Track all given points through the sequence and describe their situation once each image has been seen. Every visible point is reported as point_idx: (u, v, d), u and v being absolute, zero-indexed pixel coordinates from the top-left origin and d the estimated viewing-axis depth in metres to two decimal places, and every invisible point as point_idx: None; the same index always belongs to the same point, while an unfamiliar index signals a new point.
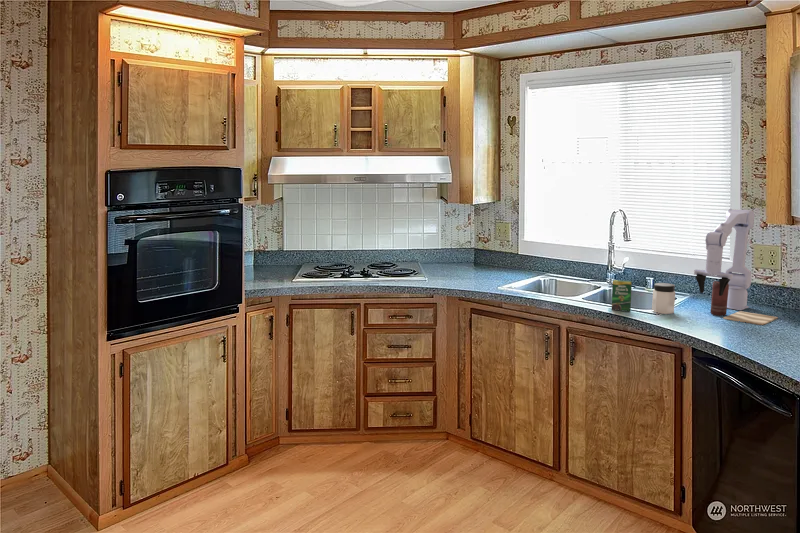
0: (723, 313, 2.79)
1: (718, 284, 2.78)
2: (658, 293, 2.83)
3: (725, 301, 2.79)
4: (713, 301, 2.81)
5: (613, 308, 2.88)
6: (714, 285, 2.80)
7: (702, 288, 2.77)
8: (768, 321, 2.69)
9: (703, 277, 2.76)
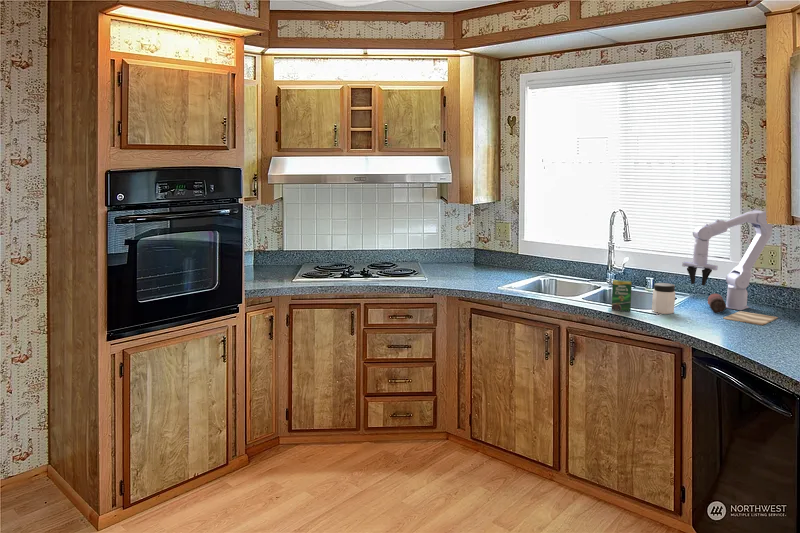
0: (722, 300, 2.85)
1: None
2: (658, 293, 2.83)
3: (722, 298, 2.90)
4: (711, 298, 2.91)
5: (613, 308, 2.88)
6: (709, 296, 2.97)
7: (693, 279, 2.95)
8: (768, 321, 2.69)
9: (694, 269, 2.95)
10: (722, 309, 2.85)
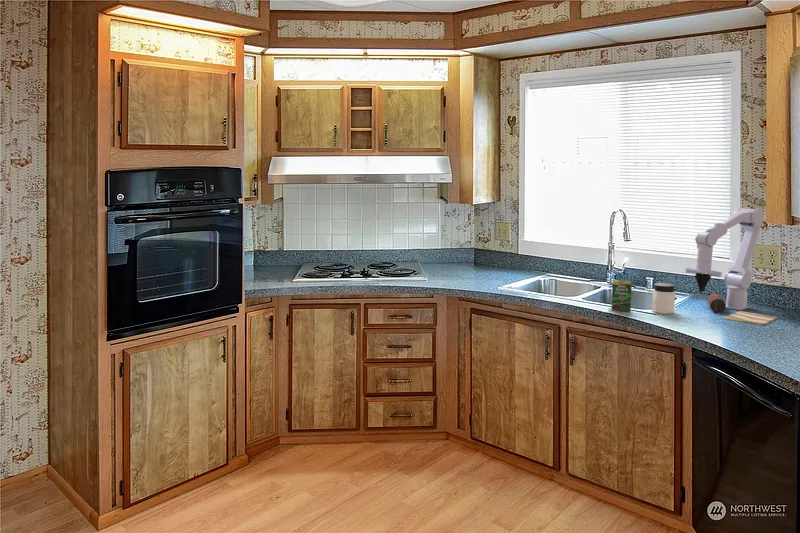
0: (722, 300, 2.85)
1: None
2: (658, 293, 2.83)
3: None
4: (710, 298, 2.91)
5: (613, 308, 2.88)
6: (709, 296, 2.97)
7: None
8: (768, 321, 2.69)
9: None
10: (722, 309, 2.85)
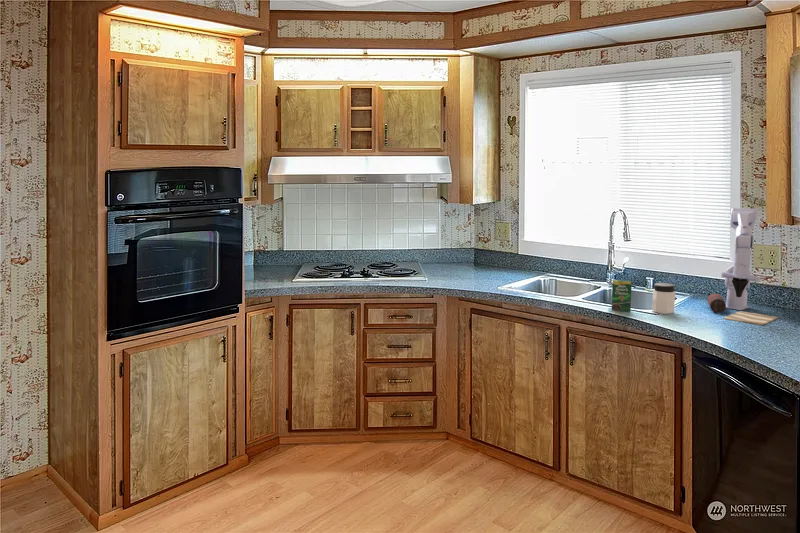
0: (722, 300, 2.85)
1: None
2: (658, 293, 2.83)
3: None
4: (710, 298, 2.91)
5: (613, 308, 2.88)
6: (709, 296, 2.97)
7: None
8: (768, 321, 2.69)
9: None
10: (722, 309, 2.85)
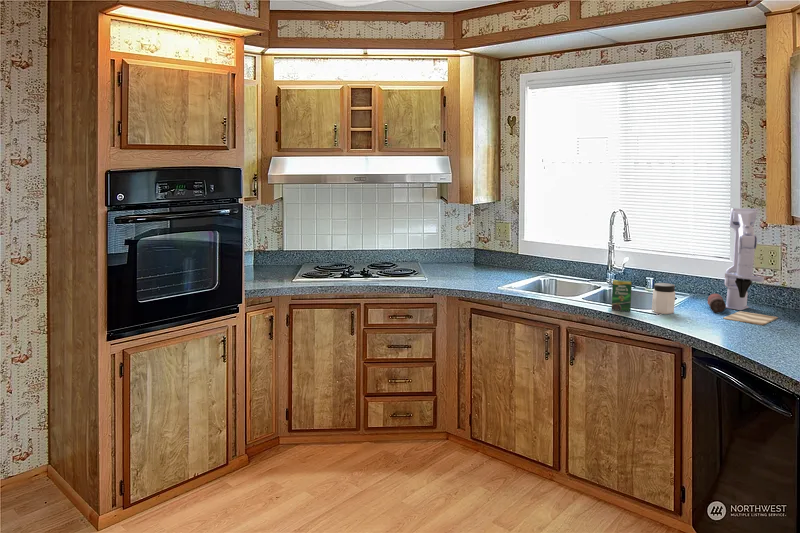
0: (722, 300, 2.85)
1: None
2: (658, 293, 2.83)
3: None
4: (710, 298, 2.91)
5: (613, 308, 2.88)
6: (709, 296, 2.97)
7: None
8: (768, 321, 2.69)
9: None
10: (722, 309, 2.85)
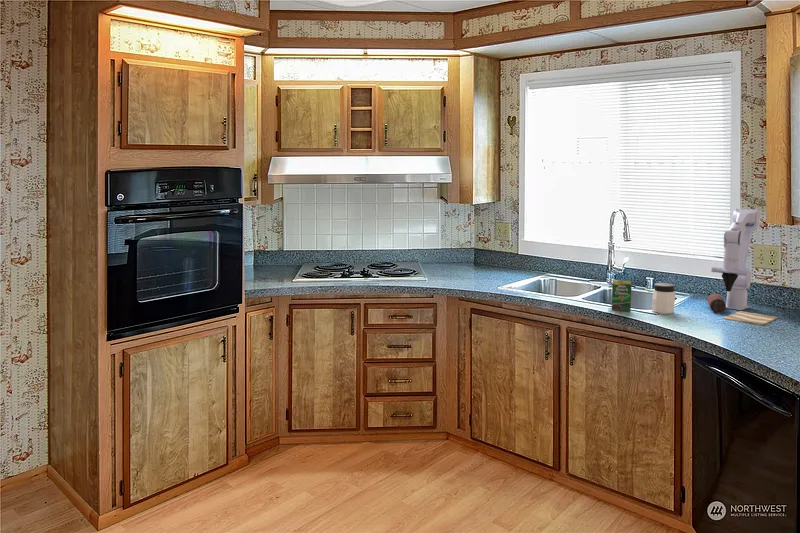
0: (722, 300, 2.85)
1: None
2: (658, 293, 2.83)
3: None
4: (710, 298, 2.91)
5: (613, 308, 2.88)
6: (709, 296, 2.97)
7: None
8: (768, 321, 2.69)
9: None
10: (722, 309, 2.85)
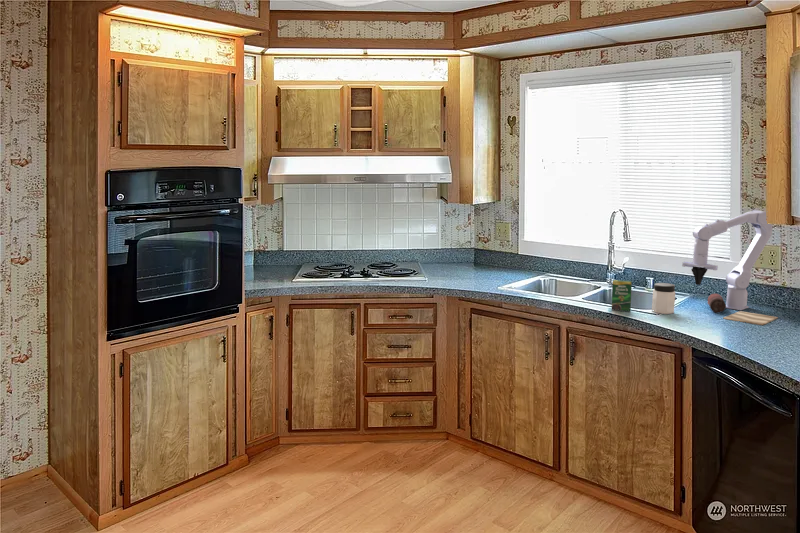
0: (722, 300, 2.85)
1: None
2: (658, 293, 2.83)
3: None
4: (710, 298, 2.91)
5: (613, 308, 2.88)
6: (709, 296, 2.97)
7: None
8: (768, 321, 2.69)
9: None
10: (722, 309, 2.85)
